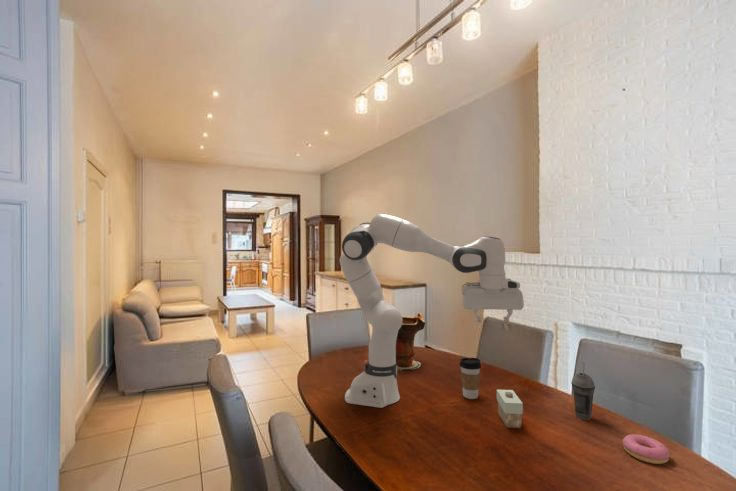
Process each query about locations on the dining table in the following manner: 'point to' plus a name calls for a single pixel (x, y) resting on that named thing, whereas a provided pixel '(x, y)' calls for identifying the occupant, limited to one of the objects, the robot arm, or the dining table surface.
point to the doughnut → (646, 449)
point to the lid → (509, 402)
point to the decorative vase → (408, 342)
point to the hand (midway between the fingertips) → (492, 322)
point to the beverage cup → (583, 395)
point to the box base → (509, 418)
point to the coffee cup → (470, 377)
